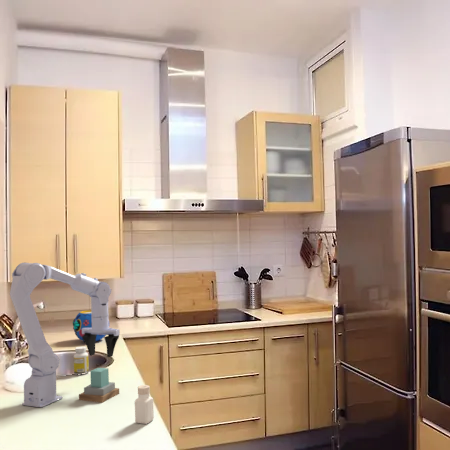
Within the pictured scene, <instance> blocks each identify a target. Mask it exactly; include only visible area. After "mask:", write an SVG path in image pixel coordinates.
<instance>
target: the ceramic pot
mask: <svg viewBox="0 0 450 450" xmlns="http://www.w3.org/2000/svg"><path fill="white" fill-rule="evenodd" d="M72 326H73V327H72V329H73V331H74V334H75V336H76V337H77V338H78V339H79V340H81V341H83V342H84V340H83V339H82V336H84V335H85V334H82V328H92V314H91V309H89V310H82V311H79V312H78V313H77V315H76V316H75V318H74V319H73V320H72ZM106 336H107V335H98V334H97V336H96V341H95V342H99V341H101V340H102V339H104V337H106Z"/></svg>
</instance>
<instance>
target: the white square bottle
mask: <svg viewBox="0 0 450 450" xmlns="http://www.w3.org/2000/svg"><path fill="white" fill-rule="evenodd" d="M150 387H151V386H150V385H148V384H142V385H139V386H138V387H137V394H138V395H137V396H138V397H137V398H136V399H135V401H134V422H135V424H143V425H147V423H148V424H149V423H151V422H152V421H153V420H154V417H155V416H154V398H153V397H151V396H150V393H151V392H150V391H151V388H150Z"/></svg>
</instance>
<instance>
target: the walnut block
mask: <svg viewBox="0 0 450 450" xmlns="http://www.w3.org/2000/svg"><path fill="white" fill-rule="evenodd" d="M119 394H120V388H119V387H118V388H117V387H115V389H114V390H112V391H110V392H109V393H107V394H106V395H104V396H101V395H88V394H84V391H83V392H82V393H79V394H78V400H79V401H87V402H93V403H94V402H95V403H104V402H106V401H109V400H111V399H112V398H115V397H116V396H118V395H119Z"/></svg>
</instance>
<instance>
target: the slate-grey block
mask: <svg viewBox="0 0 450 450" xmlns="http://www.w3.org/2000/svg"><path fill="white" fill-rule="evenodd" d="M115 388H116V383H115V382H110V381H109V384H108V385H106V386H104V387H102V388H99V387H91V383H90V384H89V385H87V386H85V387H83V392H84V394H88V395H101V396H104V395H106V394H107V393H109V392H110V391H112V390H114V389H115Z"/></svg>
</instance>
